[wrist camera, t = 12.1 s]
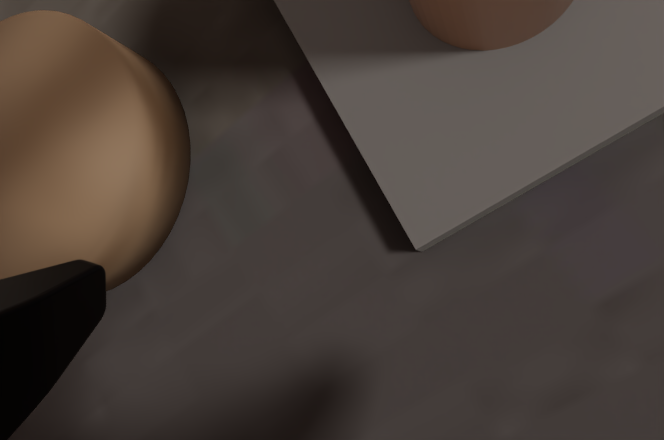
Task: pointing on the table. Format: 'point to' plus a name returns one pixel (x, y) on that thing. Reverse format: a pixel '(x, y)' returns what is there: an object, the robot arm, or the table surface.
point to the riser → (85, 149)
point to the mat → (479, 100)
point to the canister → (487, 20)
